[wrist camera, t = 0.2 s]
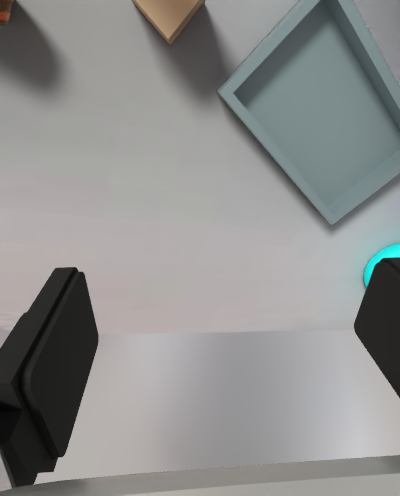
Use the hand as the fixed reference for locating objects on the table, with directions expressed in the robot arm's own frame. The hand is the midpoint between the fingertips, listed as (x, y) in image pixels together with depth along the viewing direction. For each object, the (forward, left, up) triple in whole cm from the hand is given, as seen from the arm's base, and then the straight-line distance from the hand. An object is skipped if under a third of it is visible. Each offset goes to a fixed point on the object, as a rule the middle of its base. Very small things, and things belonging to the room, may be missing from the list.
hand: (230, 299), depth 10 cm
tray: (-12, +10, -30) cm, 34 cm away
